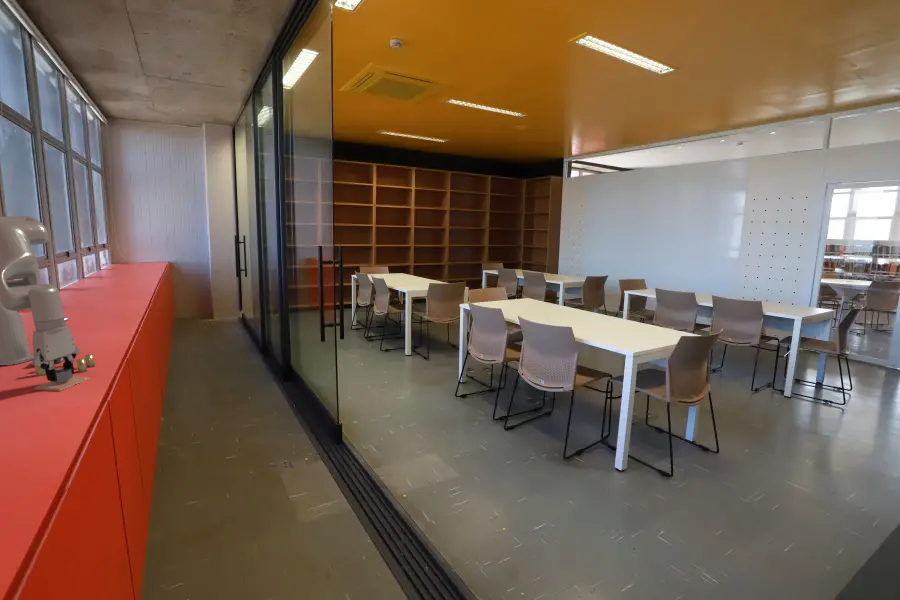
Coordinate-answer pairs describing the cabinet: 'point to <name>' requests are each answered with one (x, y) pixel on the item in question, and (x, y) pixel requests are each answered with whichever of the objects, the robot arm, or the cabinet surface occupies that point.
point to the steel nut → (63, 374)
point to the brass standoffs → (80, 365)
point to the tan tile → (61, 384)
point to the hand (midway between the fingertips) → (61, 376)
